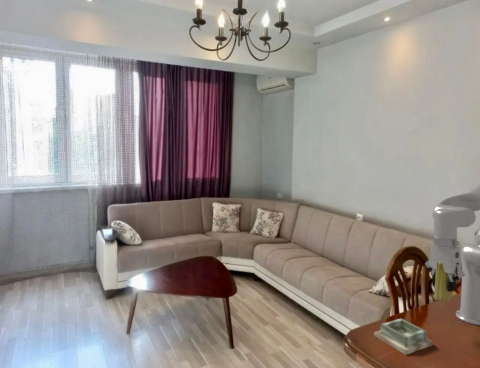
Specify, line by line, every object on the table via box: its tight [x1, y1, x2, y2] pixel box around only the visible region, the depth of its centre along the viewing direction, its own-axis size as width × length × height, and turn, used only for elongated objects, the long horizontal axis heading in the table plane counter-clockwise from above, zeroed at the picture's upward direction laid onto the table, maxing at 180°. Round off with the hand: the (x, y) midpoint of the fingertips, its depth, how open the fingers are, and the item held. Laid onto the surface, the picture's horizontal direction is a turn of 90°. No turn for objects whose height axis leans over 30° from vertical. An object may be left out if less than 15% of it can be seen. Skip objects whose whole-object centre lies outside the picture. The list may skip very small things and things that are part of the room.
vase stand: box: [373, 318, 434, 356], centre depth 128 cm, size 14×14×5 cm
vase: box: [433, 262, 453, 302], centre depth 131 cm, size 6×6×14 cm
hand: (443, 287), depth 131 cm, fingers closed on vase, 5 cm apart
